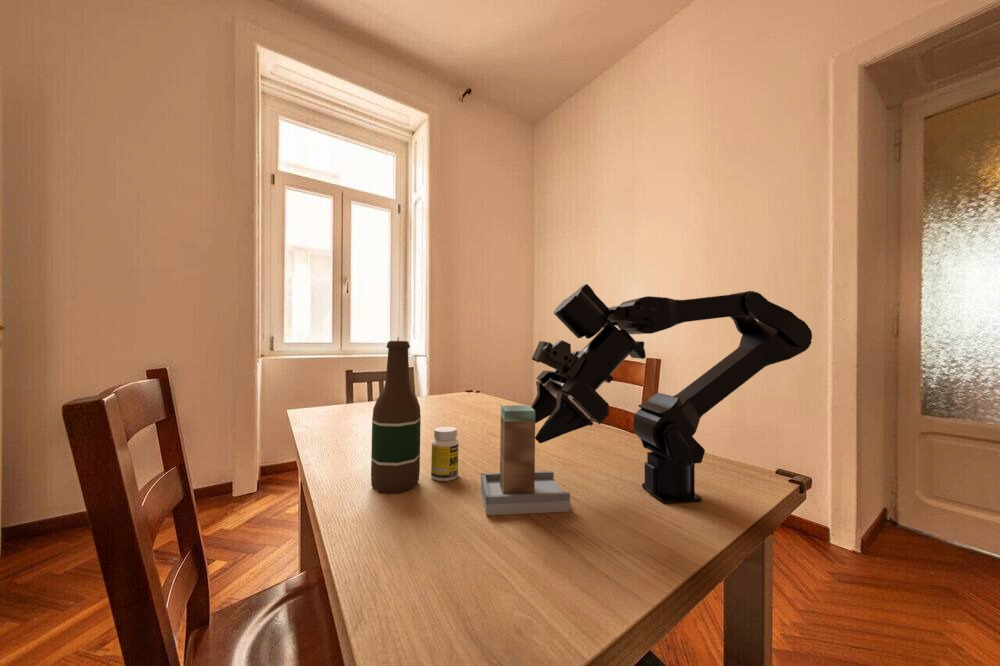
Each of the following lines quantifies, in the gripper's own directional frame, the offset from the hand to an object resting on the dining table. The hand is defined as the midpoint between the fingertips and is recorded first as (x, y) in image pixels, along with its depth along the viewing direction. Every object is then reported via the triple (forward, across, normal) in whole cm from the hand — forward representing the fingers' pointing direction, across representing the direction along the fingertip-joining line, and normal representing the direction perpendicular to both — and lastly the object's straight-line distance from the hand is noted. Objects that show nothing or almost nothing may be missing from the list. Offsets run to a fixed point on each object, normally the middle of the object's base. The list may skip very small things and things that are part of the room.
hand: (530, 432), depth 55 cm
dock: (+8, 0, +6) cm, 10 cm away
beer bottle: (+22, -8, -8) cm, 25 cm away
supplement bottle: (+17, -11, -2) cm, 20 cm away
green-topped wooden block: (+8, 0, +5) cm, 9 cm away
